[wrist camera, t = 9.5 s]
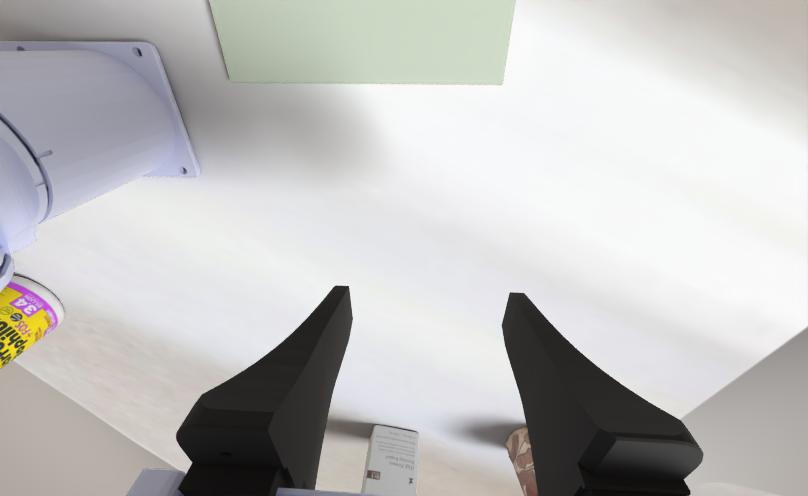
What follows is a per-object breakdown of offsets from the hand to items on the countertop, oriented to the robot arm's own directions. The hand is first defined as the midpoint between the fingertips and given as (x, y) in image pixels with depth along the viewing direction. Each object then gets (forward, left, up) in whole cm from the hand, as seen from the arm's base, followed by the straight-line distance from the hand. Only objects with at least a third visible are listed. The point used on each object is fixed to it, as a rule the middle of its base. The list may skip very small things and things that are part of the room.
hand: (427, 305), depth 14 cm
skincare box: (-3, -33, -11) cm, 35 cm away
